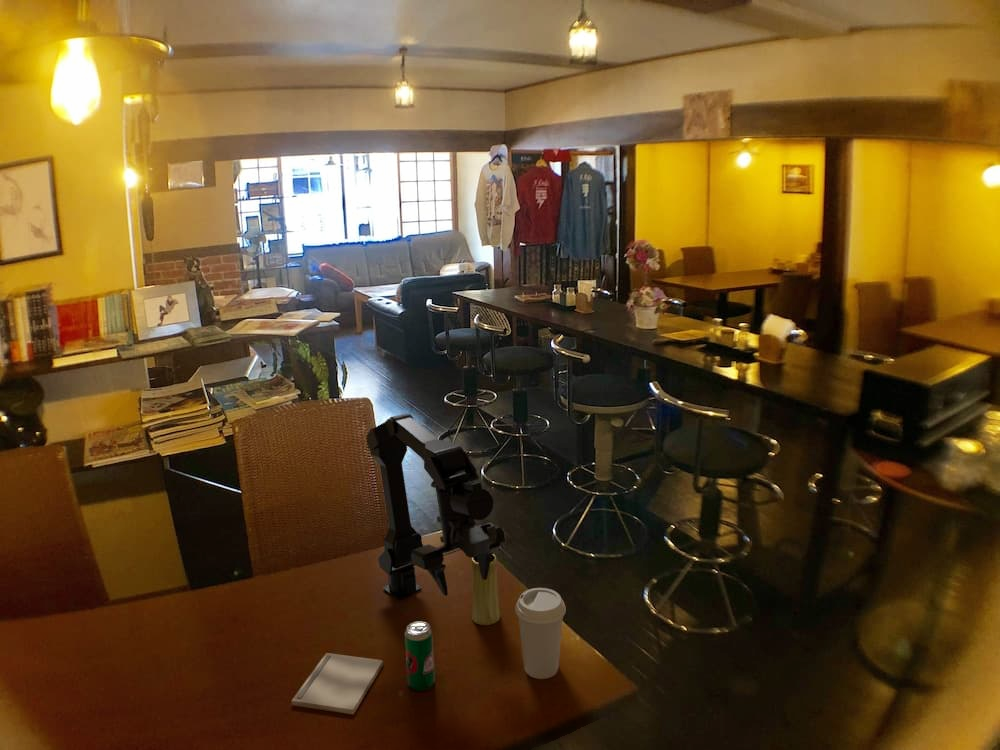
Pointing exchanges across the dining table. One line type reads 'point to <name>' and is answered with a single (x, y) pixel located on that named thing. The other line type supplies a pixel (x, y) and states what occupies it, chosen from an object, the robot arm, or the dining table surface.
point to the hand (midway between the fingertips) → (465, 587)
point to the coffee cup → (540, 630)
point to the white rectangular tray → (338, 683)
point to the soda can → (419, 656)
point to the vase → (485, 594)
